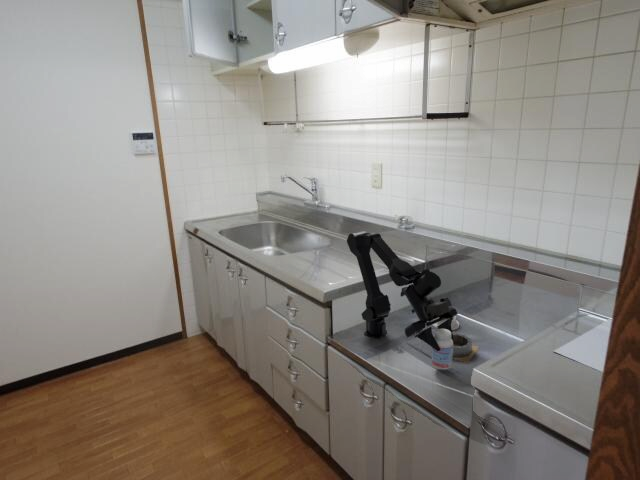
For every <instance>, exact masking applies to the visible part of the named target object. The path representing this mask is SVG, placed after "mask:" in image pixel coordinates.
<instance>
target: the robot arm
mask: <svg viewBox="0 0 640 480" xmlns="http://www.w3.org/2000/svg"><path fill="white" fill-rule="evenodd" d="M346 243H347V246H348V249H349V251H350V252H351V254H353V256H355V258H356V261H357V263H358V266H359V271H360V273H361V277H362V281H363V284H364V288H365V291H366V299H365V309H364V310H363V312H362V313H361V318H362V320H364V321H365V331H363V334H364V335H366V336H368V337H372V338H375V339H380V338H381V337H382V336H384V335H385V334H386V333H388V330H387V328H386V327H387V325H386V321H385V319H386V318H388V317H389V314H390V311H391V310H392V309H391V303H390V299H389V296H388V295H387V294H384V293H383V292H382V291H381V289H380V285H379V280H378V278H377V274H376V270H375V267H374V264H373V261H372V258H371V257H372V256H371V249H372V250H373V252H374V253H375V254H376V255H377V257H378V258H379V259H380V260H381V261H382V263H384V265H385V266H386V268H387V269H388V274H389V277H390V279H391V280H392V282H393V283H394V284H395V285H396V286H397V287H402V288H401V292H400V297H404V296H405V297H406V299H407V301H408V302H409V304H410V305H411V306H410V307H411V308H412V309H411V310H410V311H411V313H412V314H414V313H415V314H416V317H418V320H416V321H414V322H412V323H410V325H407V326H406V327H405V328H404V334H405V336H406V338H407V339H409V338H411V337H413V336H414V338H415V339H416V338H418V339H419V340H421V341H423V342H424V343H425V344H427V345H428V346H430V347H431V348H434V349H435V350H436V351H440V348H439V345H438V344H437V342H436V340H435V338H434V337H435V335H434V334H433V333H432V332H433V331H432V326H433V324H435V323H437V322H438V324H439V326H437V328H438V329H447V330H449V331H451V339H452V340H453V344H454V338H453V334H452V333H453V330H452V329H451V323H452V320H453V319H454V316H456V317H457V315H459V313H458V311H457V310H456V308H454V307H452V302H451V300H450V299H449V297H448V296H446V297H442V298H440V299H439V302H435V301H434V300H433V299H432V298H431V299H429V297H428V296H430V295H431V294H432V293H433V292H435V291H436V290H438V289H439V288H440V287H441V286H442V280H441V278H440V276H439V275H438V274H436V273H435V272H433V271H431V270H430V269H429V268H425V269H423V270H422V271H420V270H419V271H418V270H416V268H415V267H414V266H413V265H411V264H410V262H407V261H405V260H403V259H401V258H400V257H399V256H398V255H397V254H396V253H395V252H394V251H393V250H392V248H391V247H390V246H389V244H387V242H386V241H385V240H384V239H383V238H382V235H381V234H380V232H376V231H375V232H367V231H365V230H363V231H358V232H353V233H349V234H348V236H347V238H346ZM403 286H405V287H403ZM437 328H436V329H437Z"/></svg>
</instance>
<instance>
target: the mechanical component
mask: <svg viewBox="0 0 640 480" xmlns="http://www.w3.org/2000/svg"><path fill="white" fill-rule="evenodd" d="M432 326H433V327H434V328H435V329H436V330H437V329H438V328H437V326H439V324H438V322H437V323H435V324H433V325H432ZM459 327H460V322H459V321H458V320H457V315H456V316H454V319H453V320H452V323H451V329H452V331H455V330H457V329H459Z"/></svg>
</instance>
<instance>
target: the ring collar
mask: <svg viewBox="0 0 640 480" xmlns="http://www.w3.org/2000/svg"><path fill="white" fill-rule="evenodd" d="M452 334H453V338H454V344H458V345H462V346H453V355H452V357H456V358H463V357H467V356H469V355H470V354H471V353H472V345H473V341H472V339H471V338H470V337H469V336H468V335H465V334H462V333H455V332H452Z"/></svg>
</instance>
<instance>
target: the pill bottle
mask: <svg viewBox="0 0 640 480" xmlns="http://www.w3.org/2000/svg"><path fill="white" fill-rule="evenodd" d="M434 338H435V340H436V342H437V344H438V345H439V348H440V351H436V350H435V349H434V348H432V347H431V348H432V349H431V350H432V351H431V364H432V366H433V367H434V368H436V369H438V370H448V369H451V367H452V366H453V359H452V355H453V340H452V339H451V331H449V330H447V329H437V328H436V330H435V333H434Z"/></svg>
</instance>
